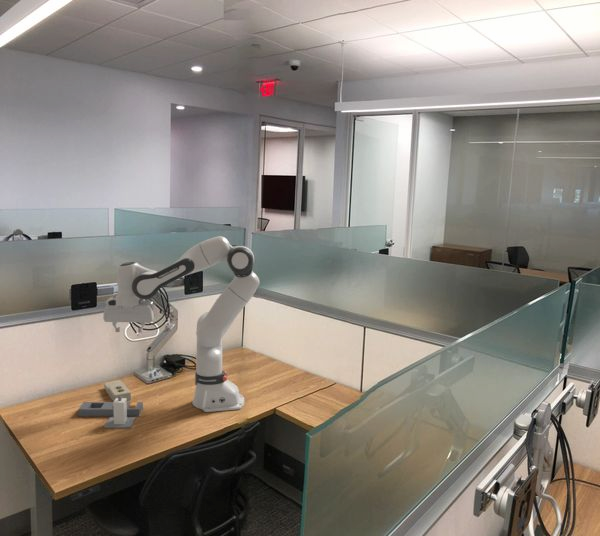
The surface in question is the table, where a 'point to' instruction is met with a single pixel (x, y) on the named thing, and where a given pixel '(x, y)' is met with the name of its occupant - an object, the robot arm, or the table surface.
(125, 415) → the charger
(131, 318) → the robot arm
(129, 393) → the electrical outlet
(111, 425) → the mat
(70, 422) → the table surface
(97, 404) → the power strip
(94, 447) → the table surface
